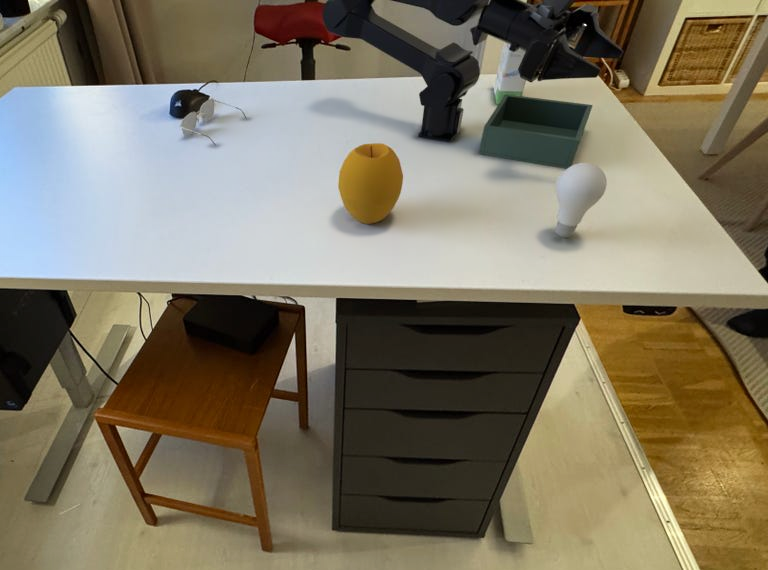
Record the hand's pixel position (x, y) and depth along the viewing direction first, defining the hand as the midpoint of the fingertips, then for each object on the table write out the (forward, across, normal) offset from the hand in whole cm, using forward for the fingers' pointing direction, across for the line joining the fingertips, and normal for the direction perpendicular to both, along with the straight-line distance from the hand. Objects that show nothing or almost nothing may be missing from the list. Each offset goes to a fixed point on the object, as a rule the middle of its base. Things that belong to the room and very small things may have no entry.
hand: (610, 64), depth 80 cm
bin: (-6, +6, +18) cm, 20 cm away
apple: (-16, -32, +21) cm, 41 cm away
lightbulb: (+10, -20, +15) cm, 27 cm away
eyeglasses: (-60, -23, +30) cm, 71 cm away
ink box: (-19, +23, +22) cm, 37 cm away
